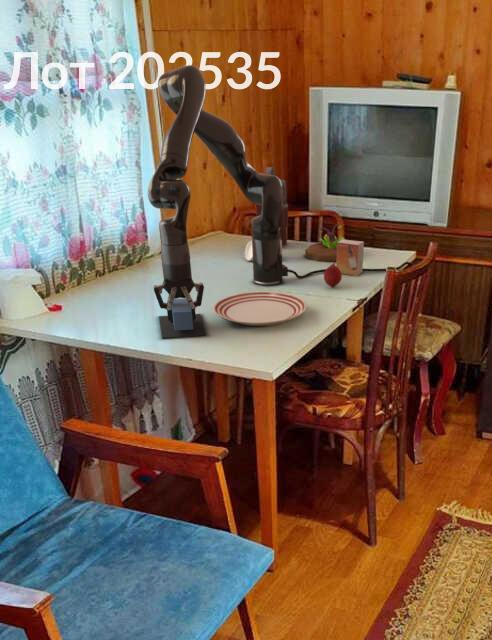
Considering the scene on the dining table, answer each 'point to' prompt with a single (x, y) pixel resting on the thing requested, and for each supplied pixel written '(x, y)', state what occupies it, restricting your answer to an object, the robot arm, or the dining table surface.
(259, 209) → the toy vending machine
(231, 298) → the dinner plate
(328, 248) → the plant
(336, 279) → the onion
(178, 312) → the blue block
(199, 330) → the mat
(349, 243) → the small box
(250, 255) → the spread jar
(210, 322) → the dining table surface
